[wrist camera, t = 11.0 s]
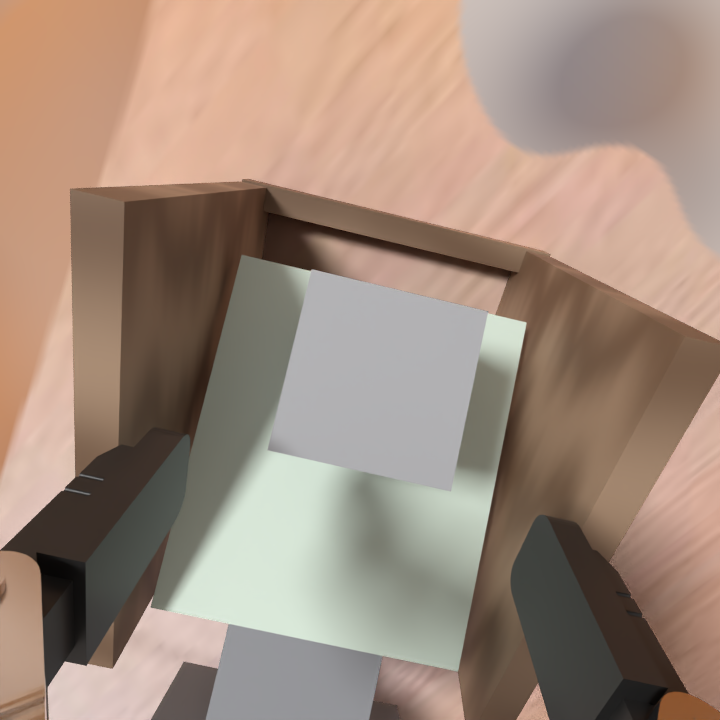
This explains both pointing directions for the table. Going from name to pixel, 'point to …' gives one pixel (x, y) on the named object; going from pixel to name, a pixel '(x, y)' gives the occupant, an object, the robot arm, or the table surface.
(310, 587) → the trapdoor
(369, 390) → the gray block
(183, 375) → the wooden bench shelf
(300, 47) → the table surface
